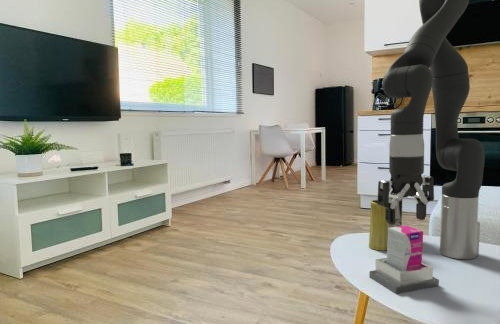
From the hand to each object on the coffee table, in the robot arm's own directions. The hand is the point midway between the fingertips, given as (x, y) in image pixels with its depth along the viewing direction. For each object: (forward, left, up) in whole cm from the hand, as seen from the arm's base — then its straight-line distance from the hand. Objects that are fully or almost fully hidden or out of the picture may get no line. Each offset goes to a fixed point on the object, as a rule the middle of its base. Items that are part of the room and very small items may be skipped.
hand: (405, 221), depth 92 cm
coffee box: (-19, -30, -15) cm, 39 cm away
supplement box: (0, 0, -14) cm, 14 cm away
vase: (-10, -23, -15) cm, 29 cm away
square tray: (0, 0, -15) cm, 15 cm away
